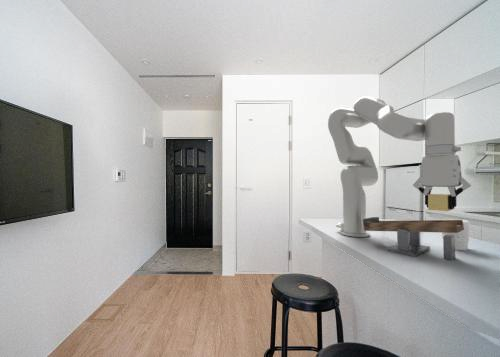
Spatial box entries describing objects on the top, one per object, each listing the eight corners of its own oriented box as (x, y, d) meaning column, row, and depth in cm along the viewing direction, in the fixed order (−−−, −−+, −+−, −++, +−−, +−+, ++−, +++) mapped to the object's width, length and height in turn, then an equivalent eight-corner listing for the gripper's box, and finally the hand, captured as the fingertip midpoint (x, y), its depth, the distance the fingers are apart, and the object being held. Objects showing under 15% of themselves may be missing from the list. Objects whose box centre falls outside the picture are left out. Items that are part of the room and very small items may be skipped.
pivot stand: (388, 251, 81) (388, 227, 81) (404, 244, 90) (404, 223, 90) (415, 256, 75) (414, 231, 75) (429, 249, 83) (429, 226, 84)
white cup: (446, 243, 91) (445, 218, 91) (473, 248, 84) (472, 220, 85) (438, 246, 87) (437, 219, 87) (466, 252, 80) (465, 222, 80)
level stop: (443, 258, 73) (443, 236, 73) (447, 256, 76) (446, 234, 76) (451, 260, 72) (451, 237, 72) (455, 257, 74) (454, 235, 74)
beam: (364, 232, 91) (362, 219, 92) (374, 230, 96) (372, 217, 96) (458, 235, 69) (454, 217, 70) (464, 231, 74) (461, 215, 74)
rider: (433, 208, 79) (432, 193, 79) (452, 210, 75) (452, 194, 75) (428, 209, 76) (428, 194, 76) (447, 211, 72) (447, 195, 72)
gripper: (478, 150, 71) (479, 209, 71) (413, 155, 85) (413, 205, 85) (472, 148, 67) (473, 211, 67) (405, 153, 80) (405, 206, 80)
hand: (440, 207), depth 76 cm, fingers closed on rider, 5 cm apart
